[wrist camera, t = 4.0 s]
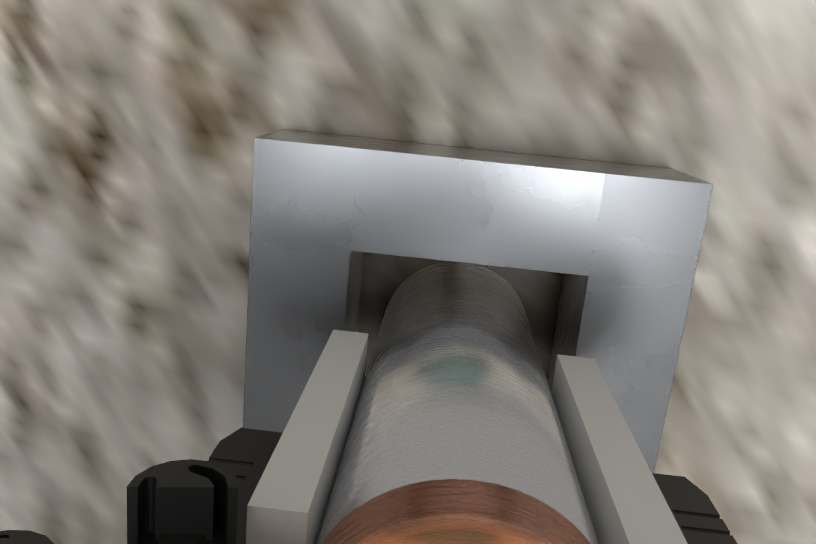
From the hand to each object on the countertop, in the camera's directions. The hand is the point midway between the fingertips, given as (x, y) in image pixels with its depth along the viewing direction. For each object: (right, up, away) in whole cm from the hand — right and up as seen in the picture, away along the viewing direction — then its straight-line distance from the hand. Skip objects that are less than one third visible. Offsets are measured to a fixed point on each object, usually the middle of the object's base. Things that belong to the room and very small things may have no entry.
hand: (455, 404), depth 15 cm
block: (0, +1, +5) cm, 5 cm away
